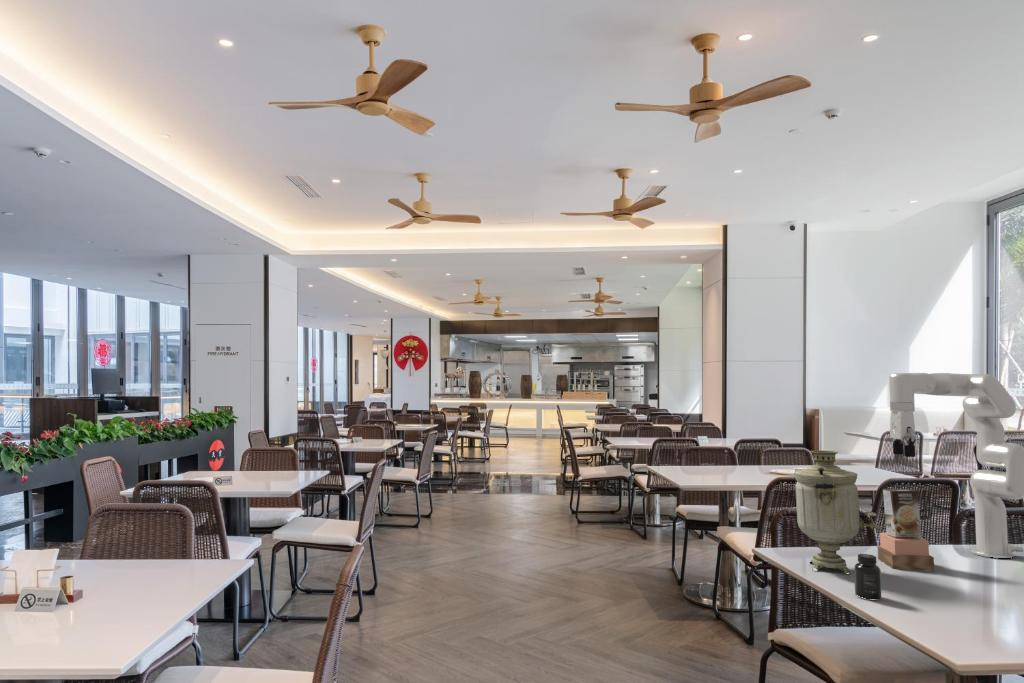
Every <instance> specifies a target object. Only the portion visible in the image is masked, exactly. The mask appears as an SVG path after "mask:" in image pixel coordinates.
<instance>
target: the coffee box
mask: <svg viewBox="0 0 1024 683" xmlns="http://www.w3.org/2000/svg"><path fill="white" fill-rule="evenodd" d="M918 493H919V491H918V490H915V489H910V488H909V489H908V488H907V489H906V488H902V489H900V488H897V489H895V488H893V489H892V488H890V489H889V488H886V489H885V488H883V489H882V494H883V505H884V506H883V507H884V519H885V530H886V532H885V533H886V534H887V535H890V536H893V537H920V538H923V537H922V525H921V516H920V515H921V514H920V504H919V494H918Z"/></svg>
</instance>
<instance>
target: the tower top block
mask: <svg viewBox="0 0 1024 683" xmlns="http://www.w3.org/2000/svg"><path fill="white" fill-rule="evenodd" d="M879 540H880V541H879V543H880V544H879V546H880V547H882V548H884V549H885V550H887V551H889V552H891V553H893V554H895V555H916V556H929V555H930V548H929V545H930V544H929V543H930V542H929V540H926V539H924V538H923V537H893V536H890V535H887V534H886V532H880V533H879Z"/></svg>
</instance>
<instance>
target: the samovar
mask: <svg viewBox="0 0 1024 683" xmlns="http://www.w3.org/2000/svg"><path fill="white" fill-rule="evenodd" d="M809 453H811V454H812V455H813V461H814V462H815V464H813V465H811V466H809V467H808V468H804V469H799V470H795V471H793V476H794V478H795V480H796V481H797V482H796V483H795V500H796V501H795V502H796V516H797V517H796V521H797V525H798V528H799V529H800V531H801V532H802V533H803V534H805V535H806V536H807V537H808V538H809V539H811V540H813V541H815V542H817V549H820V552H818V553H816V555H814V556H812V559H811V560H810V561H811V562H812V563H811V564H813V565H814V567H813V568H816V569H819V570H820V569H822V568H827V569H829V568H831V569H838V570H840V571H842V572H843V573H844V574H845V573H850V571H848V570H847V567H848V566H847V561H846V560H845V559H844V558H843V557H842V556H841V555H839V554H837V551H840V550H841V544H842V543H843V544H844V543H846V542H849V541H850V540H851V541H852V539H853V538H855V537H856V536H857V535H858V533H859V532H860V530H863V529H864V527H868V528H869V529H870V530H875V529H876V530H877V531H878V532H881V531H883V528H881V526H880V525H878V524H876V523H875V522H874V520H873V517H875V516H877V514H876V513H875V512H873V511H865V512H864V515H866V516H867V517H869V522H863V519H862V518H860V507H859V506H860V504H859V503H860V502H859V488H858V487H857V485H856V482H857V479H858V474H859V473H857V472H853V471H851V470H847V469H842V468H841V467H840V466H837V465H834V463H835V462H836V455H837V454H838V453H839V451H834V450H810V451H809Z"/></svg>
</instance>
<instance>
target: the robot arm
mask: <svg viewBox="0 0 1024 683" xmlns="http://www.w3.org/2000/svg"><path fill="white" fill-rule="evenodd" d="M888 380H889V382H888V384H889V387H888V388H889V411H890V417H889V420H890V421H889V423H890V424H889V437H890V438H892V441H891V443H892V454H894V455H903V454H904V457H906V458H916V436H917V435H916V434H917V433H916V428H915V427H916V424H915V416H914V413H915V412H916V411H915V409H916V408H915V406H916V405H915V394H916V395H928V396H929V395H930V396H942V397H964V398H963V400H962V409H963V410H964V412H965V413H966V415H967V416H969V417H970V419H972V422H973V423H974V426H975V427H976V453H975V454H976V460H977V461H978V463H979V464H980V465H983V466H987V467H993V468H1001V469H1005V470H1006V471H1000V470H992V469H978V470H975V471H973V472H972V474H971V475H970V479H969V480H970V481H969V482H970V485H971V490H972V495H973V501H974V516H975V517H974V519H975V521H974V522H975V544H976V547H972V548H971V553H972V554H974V555H977V556H980V557H985V558H990V557H993V558H992V559H998V558H1011V559H1013V558H1014V552H1016V553H1018V552H1019V553H1023V552H1024V547H1023V546H1019V545H1018V546H1017V545H1016V546H1015V545H1011V544H1010V543H1009V541H1008V520H1007V509H1006V508H1007V507H1006V505H1005V503H1004V501H1003V500H1002V498H1005V499H1009V500H1022V499H1023V498H1024V446H1022V445H1021V444H1019V443H1014V442H1006V438H1005V436H1006V434H1005V433H1006V432H1005V427H1004V425H1003V424H1002V422H1001V421H1000V420H999V419H1009V418H1011V417H1014V415H1015V414H1016V411H1017V405H1016V403H1015V400H1014V399H1013V397H1012V396H1011V394H1010V393H1009V391H1007V389H1006V388H1005V387H1004V385H1003V384H1002V383H1001V382H1000V381H999V380H998V379H997V378H996V377H995V376H994V375H991V374H989V373H949V372H937V373H935V372H933V373H927V372H894V373H891V374H890V375H889V376H888ZM903 442H904V444H903ZM1012 557H1013V558H1012Z"/></svg>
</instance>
